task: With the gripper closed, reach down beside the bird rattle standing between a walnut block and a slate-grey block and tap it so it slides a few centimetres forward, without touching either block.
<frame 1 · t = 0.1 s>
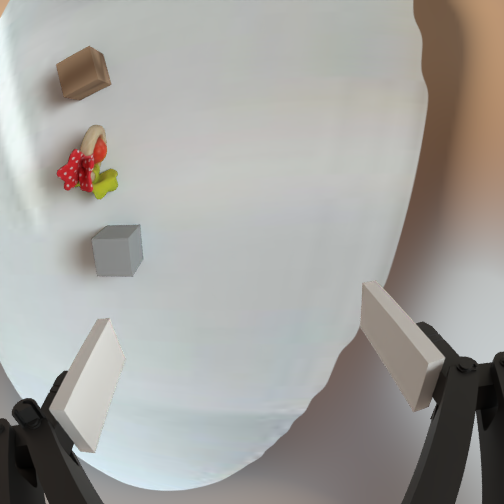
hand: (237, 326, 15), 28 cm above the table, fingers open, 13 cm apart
grey block: (125, 242, 42), on the table
bird rattle: (101, 159, 38), on the table
walnut block: (91, 77, 34), on the table
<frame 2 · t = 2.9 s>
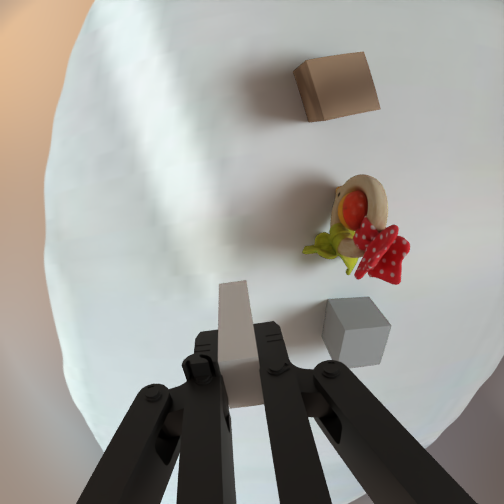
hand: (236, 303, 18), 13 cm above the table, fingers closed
grey block: (345, 316, 35), on the table
bird rattle: (335, 214, 30), on the table
walnut block: (326, 91, 26), on the table
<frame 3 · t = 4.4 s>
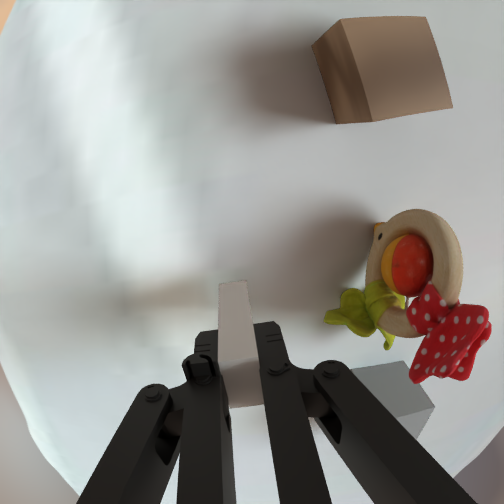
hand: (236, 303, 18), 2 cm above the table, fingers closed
grey block: (371, 385, 25), on the table
bird rattle: (370, 261, 20), on the table
walnut block: (361, 77, 16), on the table
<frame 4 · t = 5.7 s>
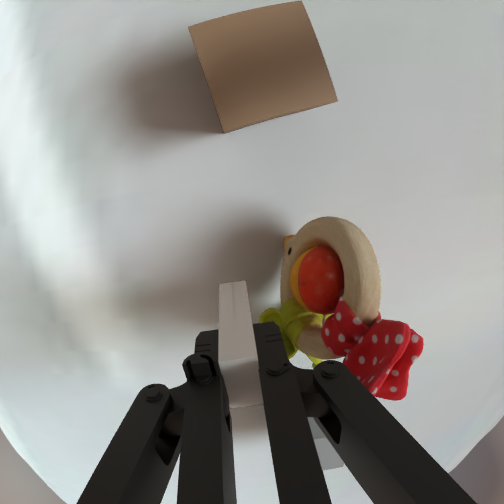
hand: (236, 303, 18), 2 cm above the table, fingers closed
grey block: (301, 400, 24), on the table
bird rattle: (287, 278, 20), on the table, touching gripper, hand
walnut block: (253, 80, 16), on the table
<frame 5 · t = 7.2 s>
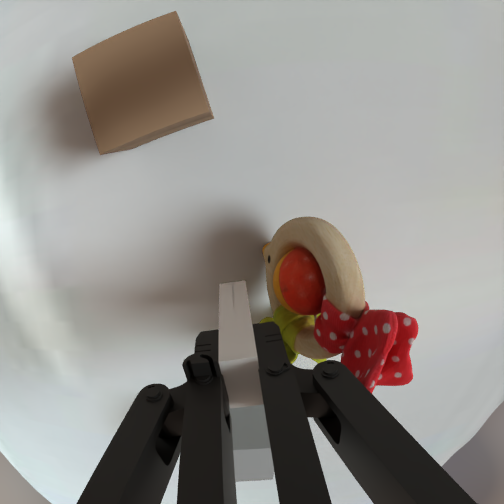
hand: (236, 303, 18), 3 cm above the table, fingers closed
grey block: (236, 409, 24), on the table
bird rattle: (275, 284, 20), on the table, touching gripper, hand
walnut block: (159, 93, 16), on the table
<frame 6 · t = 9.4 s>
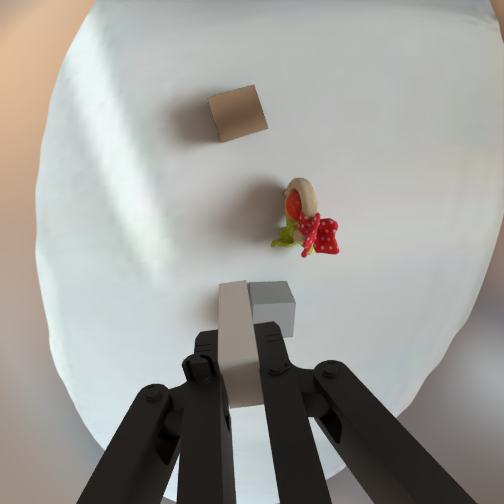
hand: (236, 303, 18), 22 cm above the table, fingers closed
grey block: (267, 298, 43), on the table
bird rattle: (290, 211, 40), on the table
walnut block: (236, 116, 35), on the table
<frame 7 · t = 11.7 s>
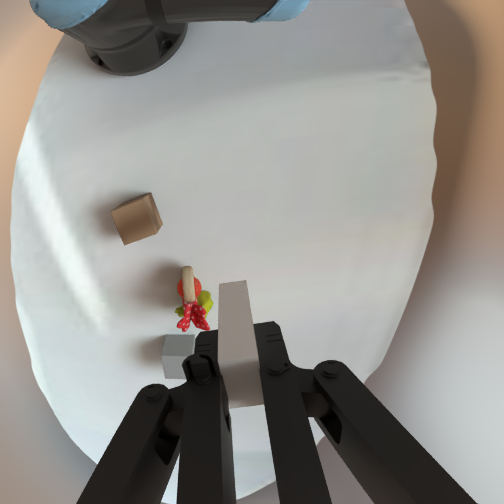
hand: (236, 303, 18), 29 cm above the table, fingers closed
grey block: (181, 345, 53), on the table
bird rattle: (191, 284, 49), on the table
walnut block: (141, 213, 45), on the table
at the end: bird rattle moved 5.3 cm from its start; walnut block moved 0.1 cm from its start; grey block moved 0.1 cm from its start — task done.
